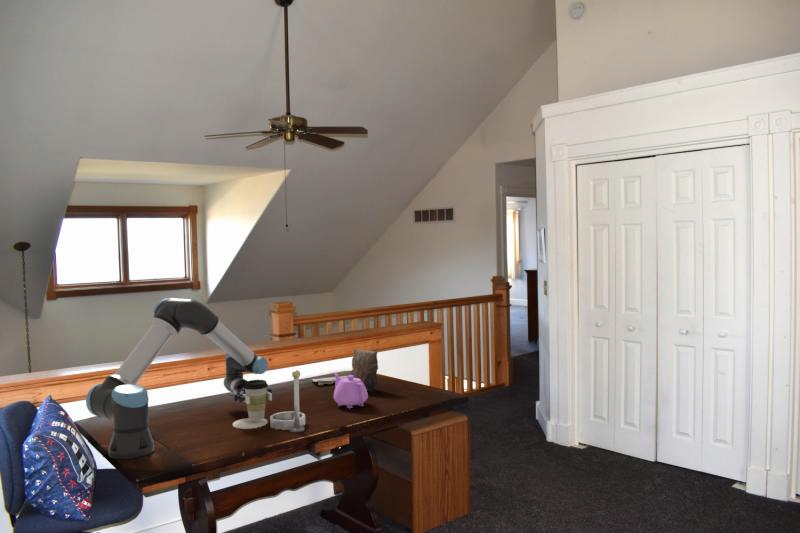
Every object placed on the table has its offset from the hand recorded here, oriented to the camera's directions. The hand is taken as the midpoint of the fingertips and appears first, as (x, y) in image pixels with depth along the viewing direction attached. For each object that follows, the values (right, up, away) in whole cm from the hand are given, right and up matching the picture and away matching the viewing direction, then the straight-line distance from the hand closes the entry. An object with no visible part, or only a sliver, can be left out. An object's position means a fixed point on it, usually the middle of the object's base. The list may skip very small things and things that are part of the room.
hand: (260, 398), depth 250 cm
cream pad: (-5, -11, +4) cm, 13 cm away
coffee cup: (-2, -9, +4) cm, 10 cm away
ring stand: (+11, -11, 0) cm, 16 cm away
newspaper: (+27, -9, +81) cm, 86 cm away
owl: (+38, -9, +60) cm, 71 cm away
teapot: (+34, -10, +32) cm, 48 cm away
